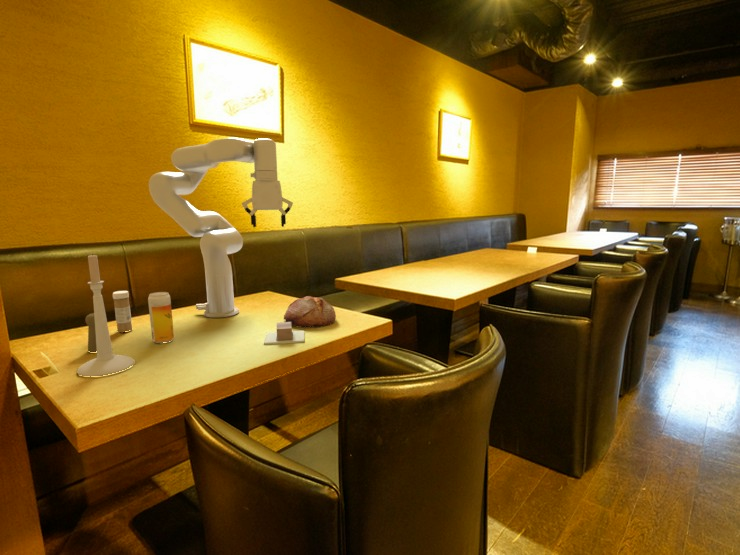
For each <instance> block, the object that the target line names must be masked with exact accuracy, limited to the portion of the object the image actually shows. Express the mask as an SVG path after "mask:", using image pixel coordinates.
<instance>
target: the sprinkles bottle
mask: <svg viewBox="0 0 740 555" xmlns="http://www.w3.org/2000/svg"><path fill="white" fill-rule="evenodd" d="M129 295H130V294H129V291H128V290H117V291H113V292H112V300H113V305H114V313H115V314H114V315H115V322H116V328H117V330H116V331H118V332H117V333H119V332H125V331H129V330H132V328H133V324H132V314H131V306H130V300H129V299H130V298H129V297H130V296H129ZM132 331H133V330H132ZM125 333H126V332H125Z"/></svg>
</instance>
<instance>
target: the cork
mask: <svg viewBox="0 0 740 555" xmlns="http://www.w3.org/2000/svg"><path fill="white" fill-rule="evenodd" d="M106 319H107V320H108V318H107V316H106ZM85 324H86V325H87V327H88V328H87V329H88V331H87V333H88V334H87V335H88V336H87V338H88V340H87V352H88V351H90V352H96V351H97V347H96V332H95V318H94V312H92V313H89V314H87V315H86V316H85Z"/></svg>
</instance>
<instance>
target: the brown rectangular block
mask: <svg viewBox="0 0 740 555" xmlns="http://www.w3.org/2000/svg"><path fill="white" fill-rule="evenodd" d="M292 326H293V325H291V322H286V321H283V322H281V321H280V322H276V332H277V340H288V339H292V331H293V328H292Z"/></svg>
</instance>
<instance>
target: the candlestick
mask: <svg viewBox="0 0 740 555" xmlns="http://www.w3.org/2000/svg"><path fill="white" fill-rule="evenodd" d="M87 261H88V269H89V277H90V281H88V282H87V284H89V286H90V290H91V291H92V293H93V296H92V300H93V301H92V303H93V313H94V318H95V332H96V347H97V353H96V357H94V358H93V359H89V360H88V361H87V362H83V364H81V365H80V366H79V367H78V369H77V371H76V374H77V373H78V374H79V375H82V376H90V377H91V376H103V375H108V374H112V373H116V372H119V371H122V370H125V369H127V368H129V367H130V366H132V365H133V364H134V362H135V359H134V358H132V357H130V356H128V355H124V354H114V352H113V350H114V349H113V346H112V341H111V335H110V331H109V325H108V318H107V319H106V317H107V313H106V308H105V304H104V298H103V295H102V290H103V283H104V282H105V280H101V277H100V276H101V275H100V269H99V268H100V267H99V260H98V255H97V254H96V255H94V254H93V253H91V255H88V256H87ZM135 363H136V362H135ZM134 365H135V364H134Z"/></svg>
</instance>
